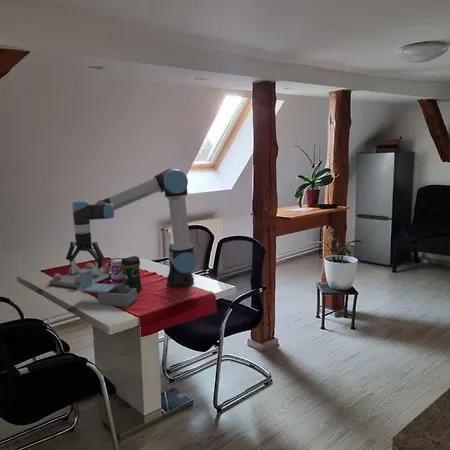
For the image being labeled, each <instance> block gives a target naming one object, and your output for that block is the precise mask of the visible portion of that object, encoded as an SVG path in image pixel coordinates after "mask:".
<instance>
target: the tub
mask: <svg viewBox="0 0 450 450" xmlns="http://www.w3.org/2000/svg"><path fill="white" fill-rule="evenodd" d="M137 301H138V291H137V288H124V287H116V288H114V289H113V290H111V291H110V292H108V293H101V292H97V304H98V305H101V306H102V305H105V306H117V307H126V306H127V307H128V306H129V307H131V305H133V304H134V303H135V302H137ZM133 302H134V303H133Z"/></svg>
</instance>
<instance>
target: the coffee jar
mask: <svg viewBox="0 0 450 450" xmlns="http://www.w3.org/2000/svg"><path fill="white" fill-rule="evenodd" d="M139 257H140V256H135V255H132V256H128V257H125V258H124V257H123V258H121V259H122V260H121V266H122V268H123V287H124V288H137V292H139V291H141V290H142V289H143V288H142V280H141V275H140V265H141V261H140V258H139Z"/></svg>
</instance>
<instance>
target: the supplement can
mask: <svg viewBox="0 0 450 450" xmlns="http://www.w3.org/2000/svg"><path fill="white" fill-rule="evenodd" d="M122 259H123V258H114V259H112V260H110V261H111V263H110V264H111V277H110V280H111V284H112V285H117V287H123V268H122V266H121V260H122Z"/></svg>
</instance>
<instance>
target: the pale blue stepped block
mask: <svg viewBox="0 0 450 450" xmlns="http://www.w3.org/2000/svg"><path fill="white" fill-rule="evenodd" d="M80 286H81V287H80V288H78V289H76V291H77V292H89V293H90V292H91V293H98V292H101V293H108V292H110V291H111V290H113V289H114V288H116V287H117V285H112V283H99V282H98V283H92V272H91V269H85V270H83V271H81V272H80Z"/></svg>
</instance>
